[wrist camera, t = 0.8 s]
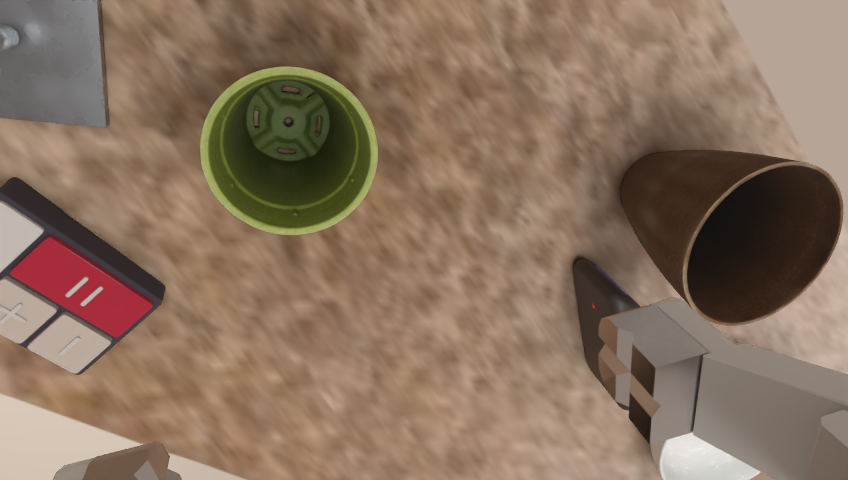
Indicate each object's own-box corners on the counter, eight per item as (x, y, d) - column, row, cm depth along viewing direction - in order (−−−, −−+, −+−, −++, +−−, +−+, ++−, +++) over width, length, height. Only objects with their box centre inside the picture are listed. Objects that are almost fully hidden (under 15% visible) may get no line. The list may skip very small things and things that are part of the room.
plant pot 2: (559, 205, 58) (649, 279, 44) (655, 86, 54) (787, 125, 40) (644, 268, 64) (747, 350, 50) (735, 165, 61) (872, 222, 47)
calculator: (76, 382, 50) (-105, 287, 42) (88, 352, 53) (-76, 260, 46) (163, 307, 49) (-6, 194, 41) (169, 281, 52) (15, 173, 44)
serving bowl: (621, 381, 72) (652, 419, 66) (763, 318, 73) (807, 350, 67) (640, 479, 82) (669, 519, 76) (765, 422, 83) (803, 457, 77)
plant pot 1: (376, 155, 51) (400, 199, 41) (254, 202, 50) (248, 259, 40) (327, 25, 45) (342, 40, 35) (189, 76, 44) (164, 105, 34)
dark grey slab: (617, 352, 69) (663, 404, 61) (583, 365, 69) (625, 419, 60) (605, 244, 61) (656, 286, 53) (567, 257, 61) (613, 302, 53)
